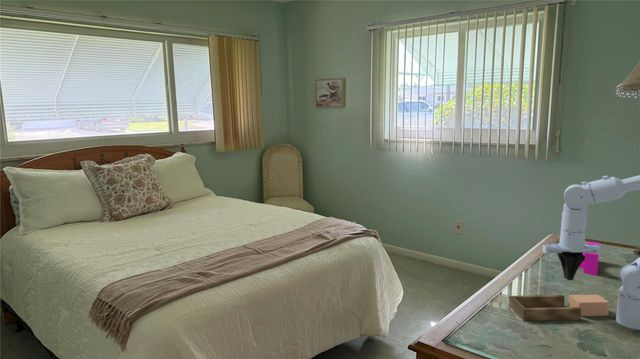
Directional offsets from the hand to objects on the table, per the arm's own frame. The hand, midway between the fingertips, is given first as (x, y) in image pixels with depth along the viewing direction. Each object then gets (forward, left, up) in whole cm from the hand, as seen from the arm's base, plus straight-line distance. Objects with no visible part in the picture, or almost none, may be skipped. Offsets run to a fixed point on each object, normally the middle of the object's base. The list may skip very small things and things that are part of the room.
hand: (568, 278), depth 120 cm
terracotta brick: (-6, 0, -10) cm, 11 cm away
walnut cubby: (+6, 0, -9) cm, 11 cm away
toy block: (-25, -34, -10) cm, 43 cm away
